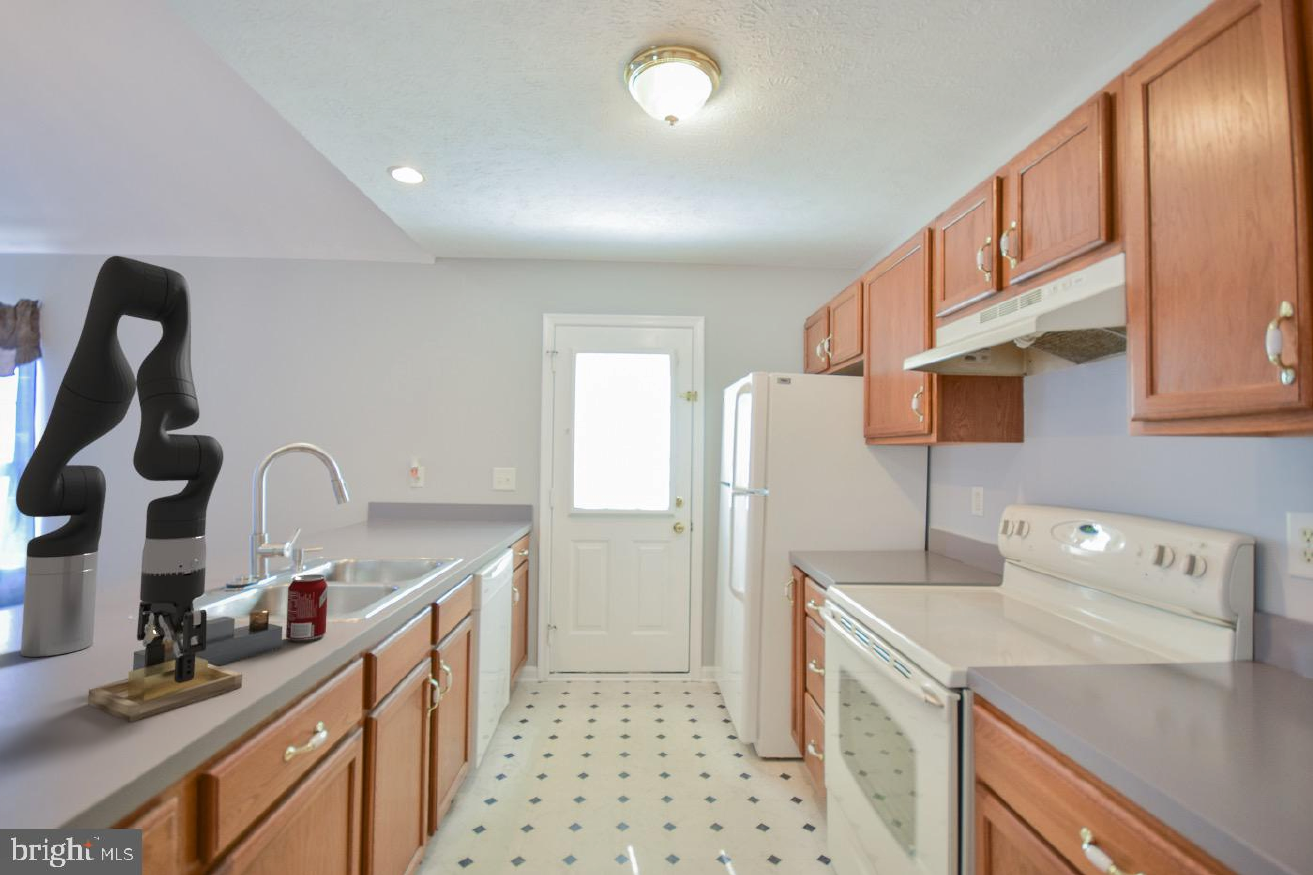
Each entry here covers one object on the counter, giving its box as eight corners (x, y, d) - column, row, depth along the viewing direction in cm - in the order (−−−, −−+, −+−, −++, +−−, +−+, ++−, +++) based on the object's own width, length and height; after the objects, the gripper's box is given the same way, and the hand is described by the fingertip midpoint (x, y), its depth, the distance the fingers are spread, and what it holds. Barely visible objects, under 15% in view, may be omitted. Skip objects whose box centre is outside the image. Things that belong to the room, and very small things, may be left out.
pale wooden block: (127, 696, 86) (128, 671, 86) (190, 678, 93) (191, 655, 93) (143, 702, 84) (144, 677, 84) (206, 683, 91) (207, 660, 91)
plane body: (151, 684, 92) (155, 619, 93) (132, 676, 95) (135, 614, 95) (281, 648, 110) (283, 594, 111) (262, 643, 113) (264, 590, 113)
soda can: (312, 644, 113) (315, 581, 113) (277, 643, 113) (280, 580, 114) (332, 633, 120) (335, 574, 120) (299, 632, 120) (302, 573, 120)
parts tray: (88, 703, 85) (88, 689, 85) (199, 673, 97) (199, 660, 97) (129, 722, 79) (130, 707, 79) (241, 687, 92) (242, 674, 92)
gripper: (119, 565, 89) (114, 675, 88) (170, 576, 82) (164, 694, 82) (178, 558, 95) (173, 660, 95) (228, 567, 89) (223, 676, 89)
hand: (168, 675), depth 88 cm, fingers open, 8 cm apart
